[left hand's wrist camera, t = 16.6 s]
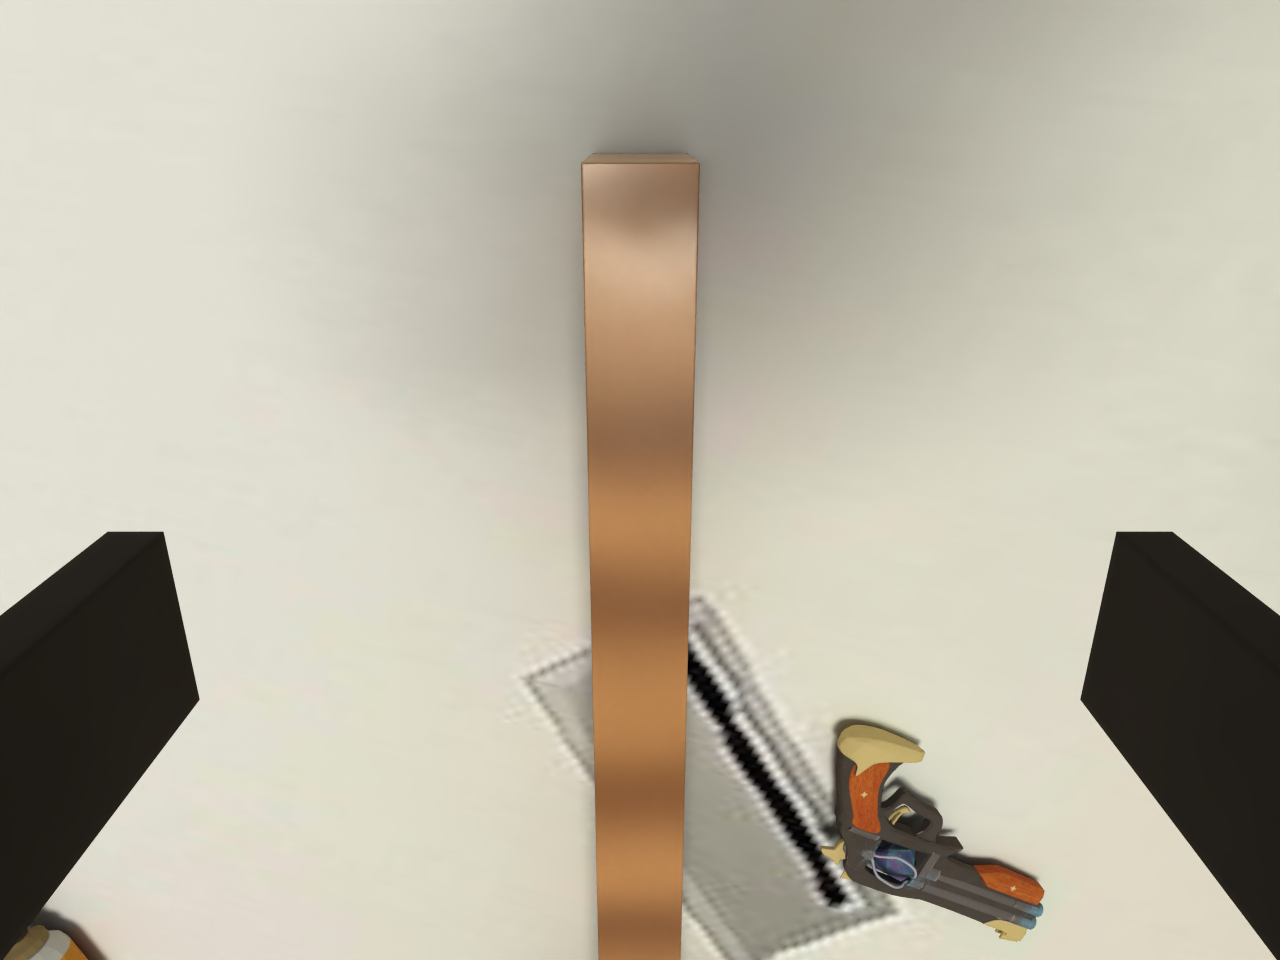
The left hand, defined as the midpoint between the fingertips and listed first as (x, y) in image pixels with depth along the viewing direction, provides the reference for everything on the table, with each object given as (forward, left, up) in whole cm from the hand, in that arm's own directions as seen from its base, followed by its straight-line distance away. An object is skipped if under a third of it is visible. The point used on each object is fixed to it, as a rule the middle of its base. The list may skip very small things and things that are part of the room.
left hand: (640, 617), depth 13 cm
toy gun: (+1, +39, -34) cm, 52 cm away
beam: (+12, +22, -34) cm, 42 cm away
